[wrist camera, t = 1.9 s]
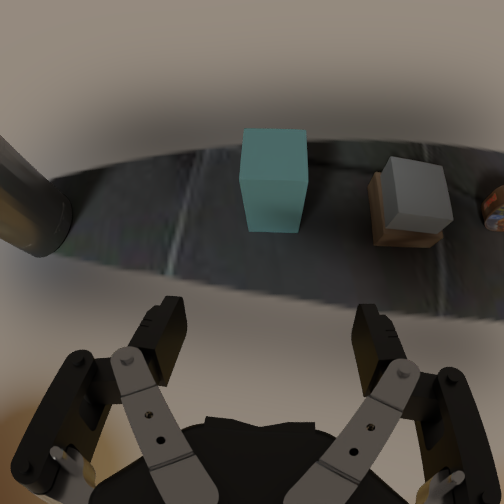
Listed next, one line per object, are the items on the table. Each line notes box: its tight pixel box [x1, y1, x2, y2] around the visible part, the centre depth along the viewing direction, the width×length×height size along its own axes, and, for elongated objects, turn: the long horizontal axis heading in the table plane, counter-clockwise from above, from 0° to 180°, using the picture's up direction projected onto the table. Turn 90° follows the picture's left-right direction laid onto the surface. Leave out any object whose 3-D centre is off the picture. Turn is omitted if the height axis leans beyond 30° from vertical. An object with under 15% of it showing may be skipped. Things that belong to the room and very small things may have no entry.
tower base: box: [367, 172, 443, 248], centre depth 29 cm, size 7×7×4 cm
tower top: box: [380, 156, 453, 234], centre depth 26 cm, size 6×6×4 cm
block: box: [239, 128, 308, 233], centre depth 27 cm, size 5×5×10 cm
